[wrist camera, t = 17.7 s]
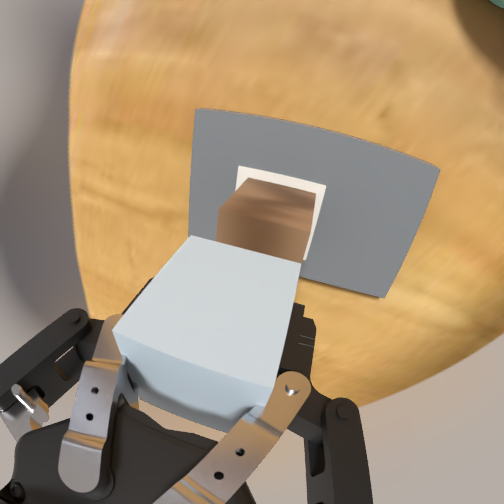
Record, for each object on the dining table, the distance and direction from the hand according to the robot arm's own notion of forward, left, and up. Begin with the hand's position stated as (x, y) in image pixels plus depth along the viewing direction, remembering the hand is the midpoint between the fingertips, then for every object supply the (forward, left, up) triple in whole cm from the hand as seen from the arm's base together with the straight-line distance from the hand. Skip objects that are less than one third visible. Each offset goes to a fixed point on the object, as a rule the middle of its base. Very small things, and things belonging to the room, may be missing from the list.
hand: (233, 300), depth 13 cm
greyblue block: (0, 0, -1) cm, 1 cm away
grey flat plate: (-2, -1, -11) cm, 11 cm away
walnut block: (0, 0, -10) cm, 10 cm away
